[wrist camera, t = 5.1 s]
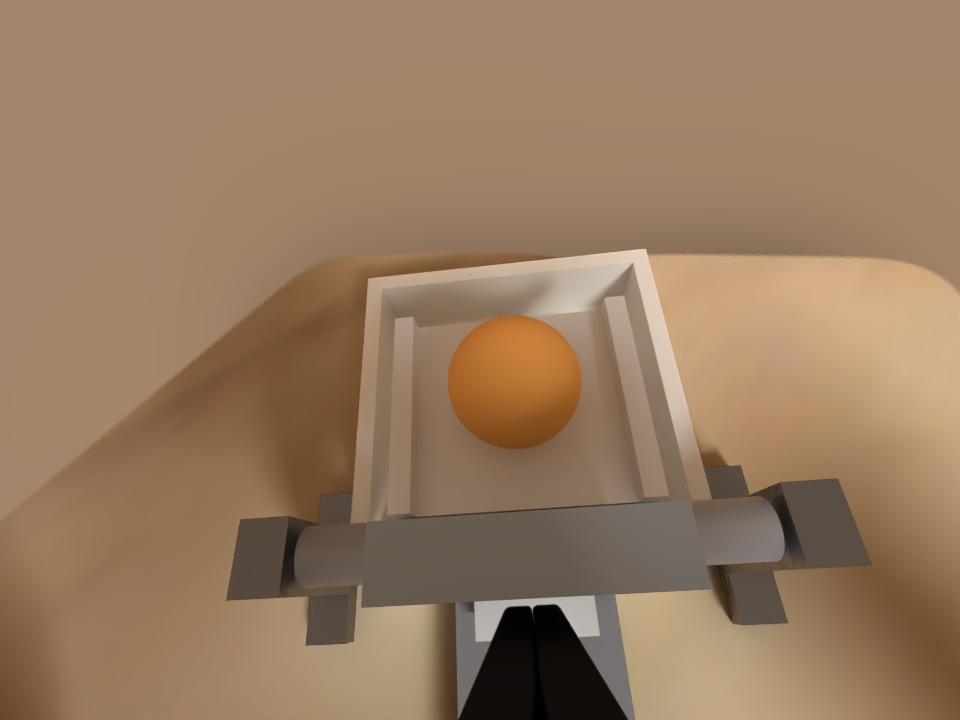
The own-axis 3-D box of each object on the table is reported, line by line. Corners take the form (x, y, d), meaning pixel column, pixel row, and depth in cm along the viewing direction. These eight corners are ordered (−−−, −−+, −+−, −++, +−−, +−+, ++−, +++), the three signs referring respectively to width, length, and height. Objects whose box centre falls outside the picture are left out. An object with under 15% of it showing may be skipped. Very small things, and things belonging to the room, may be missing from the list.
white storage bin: (690, 562, 16) (727, 557, 13) (381, 580, 17) (346, 579, 14) (629, 298, 21) (645, 248, 18) (391, 321, 22) (368, 278, 19)
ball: (584, 458, 13) (600, 417, 10) (459, 467, 13) (436, 430, 10) (567, 347, 14) (576, 281, 11) (456, 357, 15) (435, 296, 11)
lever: (775, 808, 13) (1416, 1408, 4) (346, 816, 14) (-51, 1306, 4) (663, 366, 19) (789, 154, 10) (372, 392, 20) (227, 221, 11)
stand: (776, 621, 15) (900, 640, 10) (315, 642, 16) (214, 669, 11) (732, 470, 17) (815, 421, 12) (328, 498, 19) (249, 465, 13)
